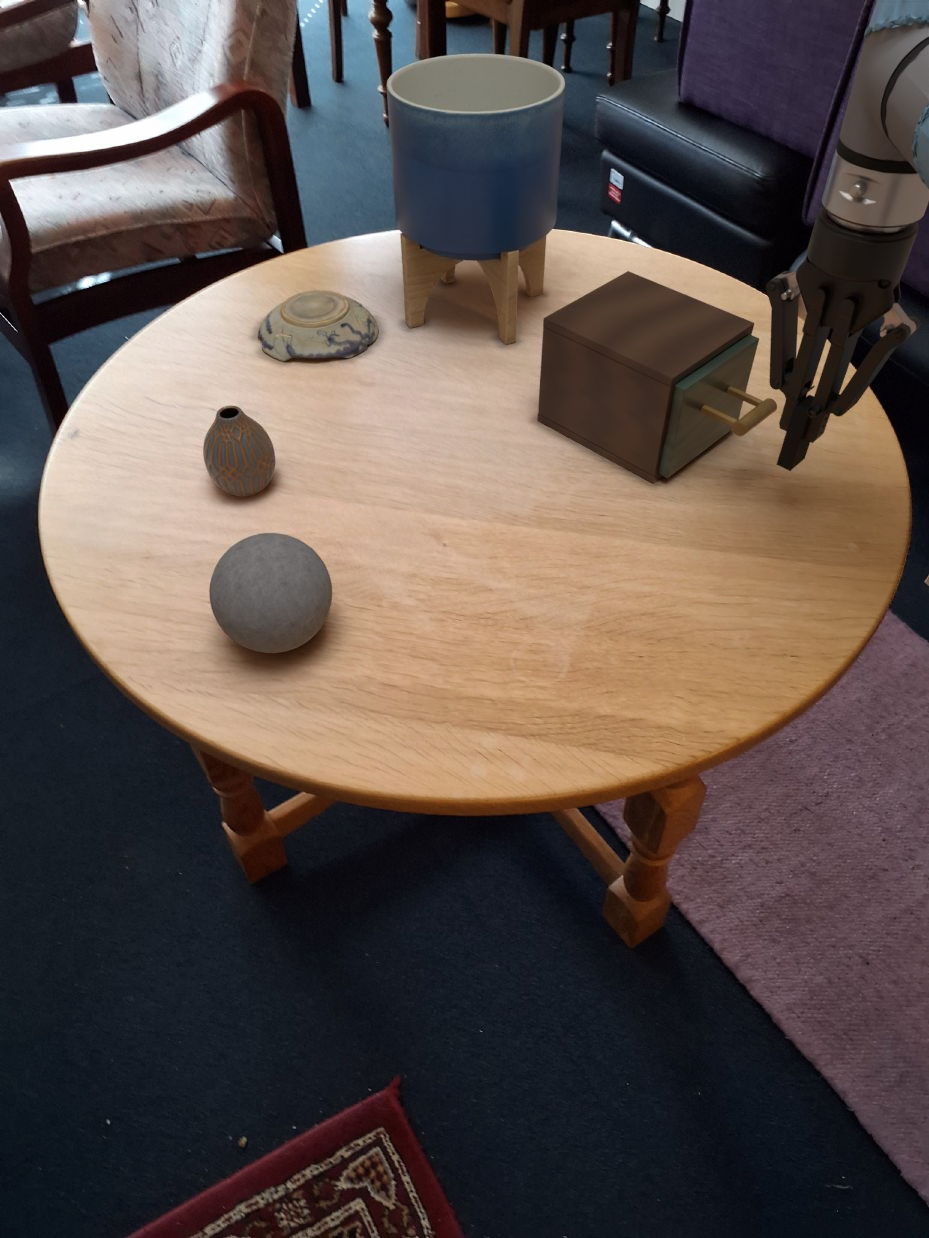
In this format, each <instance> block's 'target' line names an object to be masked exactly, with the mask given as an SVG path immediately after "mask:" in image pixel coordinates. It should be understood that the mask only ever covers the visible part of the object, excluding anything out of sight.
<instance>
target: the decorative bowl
mask: <svg viewBox="0 0 929 1238" xmlns="http://www.w3.org/2000/svg"><path fill="white" fill-rule="evenodd" d="M378 335H379V325H378V321H377V320H376V319H375V317H374V315H372V313H371V312H370V311H369V309H367V308H366V307H365V306H363V304H362V303H360V302H358V301H357V300H355V299H353V298H351V297H348V296H346V295H342V294H341V293H339V292H336V291H332V290H326V289H316V290H306V291H302V292H299V293H296V294H293V295H291V296H290V297H288V298H287V299H286V300H284V301H283V302H280V303H279V304H278V305H276V306H275V307H273V309H271V310H270V311H269V312H268V313H267V315H266V316H265V317H264V319H263V320H262V322H261V323H260V326H259V328H258V330H257V337H259V338H261V346H262V347H261V349H262V351H263V352H264V353H265V354H267V355H268V356H269V357H271V358H275V359H276V360H278V361H281V362H283V363H285V362H287V361H289V360H291V359H293V358H295V359H297V358H302V359H328V358H343V359H352V358H353V357H355V356H358V355H360V354H361V353H363V352H364V351H366V350H367V349H368V345H371V344H372V343H374V342H375V341H376V340H377V338H378Z"/></svg>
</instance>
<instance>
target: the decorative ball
mask: <svg viewBox="0 0 929 1238" xmlns="http://www.w3.org/2000/svg"><path fill="white" fill-rule="evenodd" d="M223 553H224V554H222V556H220V558H219V559H218V561H217V563H216V565H215V567H214V569H213V572H212V575H211V578H210V583H209V589H208V590H209V591H208V593H209V602H210V607H211V611H212V614H213V616H214V618H215V620H216V622H217V624H218V626H219V627H220V629H221V630H222V631H223V632H224V633H225V634H226V635H227V637H229V638H230V639H231V640H232V641H234V643H237V644H238V645H240V646H241V647H243V648H246V649H247V650H251V651H253V652H254V651H255V652H258V653H265V654H278V653H286V652H289V651H292V650H295V649H297V648H299V647H301V646H302V645H304V644H306V643H307V642H309V641H310V640H311V639H313V637H315V636H316V634H318V632H319V631H320V630H321V629H322V627H323V626H324V625H325V622H326V620H327V618H328V616H329V614H330V611H331V607H332V602H333V584H332V579H331V576H330V572H329V570H328V568H327V565H326V564H325V562H324V560H322V558H321V556H320V555H319V554H318V553H317V551H315V550H314V548H313V547H311V546H310V545H308V544H307V543H305V542H304V541H302V540H301V539H299V538H296V537H294V536H291V535H289V534H284V533H279V532H263V533H257V534H253V535H250V536H247V537H244V538H243V539H241V540H239V541H237V542H236V543H234V544H233V545H231V546H230V547H229V548H227V550H226V552H223Z"/></svg>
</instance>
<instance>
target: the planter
mask: <svg viewBox="0 0 929 1238" xmlns="http://www.w3.org/2000/svg"><path fill="white" fill-rule="evenodd" d="M565 81H566V80H565V78H564V77H563V75H562V74H561V72H559V70H557V69H555V68H553V67H551V66H550V65H548V64H545V63H543V62H541V61H537V60H534V59H531V58H525V57H520V56H515V55H507V54H496V53H459V54H449V55H440V56H435V57H429V58H425V59H422V60H418V61H415V62H412V63H409V64H406V65H405V66H402V67H400V68H399V69H397V70H396V71H394V72H393V73H392V74H391V75H390V76H389V78H388V79H387V80H386V98H387V115H388V128H389V129H388V130H389V143H390V144H389V145H390V158H391V159H390V160H391V171H392V189H393V202H394V219H395V224H396V226H397V229H398V230H399V231H400V232H401V233H400V234H399V235H400V250H401V251H400V252H401V253H400V254H401V266H402V267H401V269H402V282H403V283H402V284H403V298H404V301H403V302H404V313H405V314H404V316H405V324H406V325H407V326H408V328H409V329H412V328H417V327H420V326H423V325H424V316H425V311H426V307H427V303H428V300H429V298H430V296H431V293H432V292H433V290H434V288H435V286H436V285H437V284H438V282H439V281H440V280H442V282H443V283H444V284H449V283H453V282H455V274H456V266H457V265H458V264H460V263H462V262H463V261H468V262H469V261H470V262H471V261H472V262H478V265H479V266H480V268H481V269H482V271H483V273H484V275H485V277H486V280H487V282H488V284H489V287H490V290H491V293H492V297H493V300H494V304H495V308H496V314H497V315H496V316H497V322H498V338H499V340H501V341H502V342H503V343H504V344H505V345H509V344H514V343H516V341H517V316H518V315H517V313H518V288H519V286H518V283H519V268H520V270H521V272H522V275H523V278H524V283H525V293H526V294H527V295H528V296H529V297H530V298H532V297H536V296H540V295H543V294H544V283H545V268H546V267H545V265H546V250H547V249H546V248H547V247H546V246H547V235H548V234H550V232H551V231H553V229H554V227H555V226H556V223H557V216H558V215H557V213H558V200H559V199H558V198H559V184H560V183H559V182H560V171H561V170H560V168H561V155H562V154H561V153H562V152H561V151H562V140H563V139H562V138H563V124H564V122H563V121H564V107H565V95H566V82H565Z"/></svg>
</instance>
